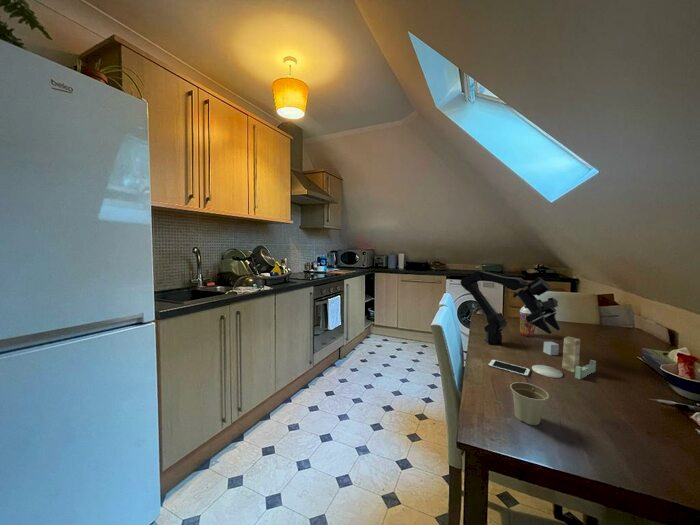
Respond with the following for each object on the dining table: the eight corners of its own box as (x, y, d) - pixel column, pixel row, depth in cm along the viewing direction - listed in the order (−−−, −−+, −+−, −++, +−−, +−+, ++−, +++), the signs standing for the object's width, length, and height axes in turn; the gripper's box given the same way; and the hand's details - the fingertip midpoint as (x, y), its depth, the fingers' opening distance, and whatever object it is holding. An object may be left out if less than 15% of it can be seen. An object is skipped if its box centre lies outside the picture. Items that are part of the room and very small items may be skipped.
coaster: (540, 376, 103) (540, 375, 103) (527, 365, 113) (527, 364, 113) (568, 378, 102) (568, 377, 101) (552, 367, 111) (552, 365, 111)
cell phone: (491, 360, 118) (491, 358, 118) (531, 371, 108) (531, 369, 108) (486, 366, 112) (486, 364, 112) (528, 378, 102) (528, 376, 102)
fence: (575, 377, 103) (575, 366, 102) (590, 370, 109) (591, 359, 109) (579, 379, 101) (580, 368, 101) (595, 371, 108) (596, 361, 107)
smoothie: (514, 333, 155) (516, 299, 154) (528, 332, 156) (529, 299, 155) (525, 338, 147) (527, 302, 146) (539, 337, 148) (541, 302, 146)
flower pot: (555, 426, 75) (557, 396, 74) (530, 432, 72) (531, 402, 71) (525, 406, 84) (526, 380, 83) (501, 411, 81) (502, 384, 80)
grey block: (550, 355, 124) (551, 344, 124) (543, 351, 128) (543, 341, 127) (558, 354, 124) (558, 344, 124) (550, 351, 128) (551, 341, 128)
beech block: (562, 368, 110) (563, 337, 110) (566, 366, 112) (568, 336, 111) (573, 372, 107) (575, 341, 106) (578, 370, 109) (580, 339, 108)
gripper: (537, 293, 114) (564, 326, 106) (554, 290, 124) (580, 319, 116) (515, 306, 121) (539, 338, 113) (533, 302, 131) (556, 331, 124)
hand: (555, 331), depth 116 cm, fingers open, 9 cm apart
